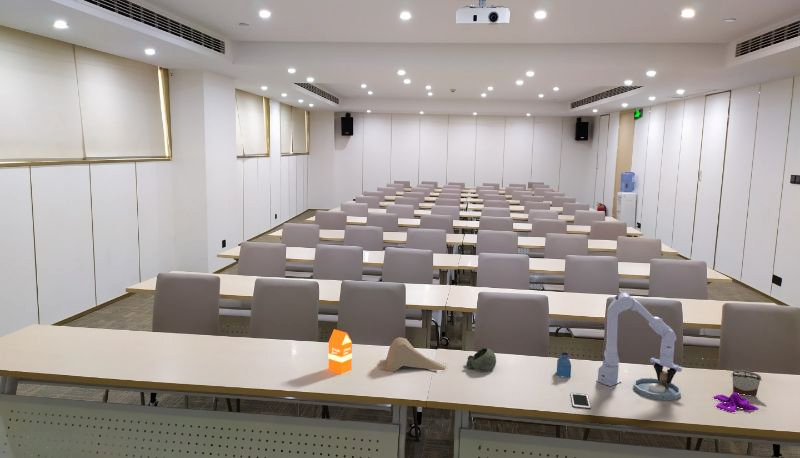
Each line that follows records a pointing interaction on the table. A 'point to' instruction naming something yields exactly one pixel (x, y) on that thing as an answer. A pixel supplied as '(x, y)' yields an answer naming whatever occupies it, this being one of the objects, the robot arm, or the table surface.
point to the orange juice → (340, 352)
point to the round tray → (656, 389)
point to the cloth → (734, 403)
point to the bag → (407, 357)
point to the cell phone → (580, 400)
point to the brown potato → (663, 378)
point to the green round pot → (482, 360)
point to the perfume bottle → (564, 365)
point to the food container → (745, 382)
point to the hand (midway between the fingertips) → (664, 381)
